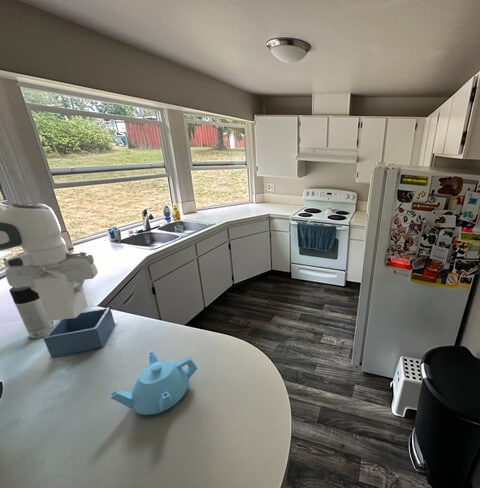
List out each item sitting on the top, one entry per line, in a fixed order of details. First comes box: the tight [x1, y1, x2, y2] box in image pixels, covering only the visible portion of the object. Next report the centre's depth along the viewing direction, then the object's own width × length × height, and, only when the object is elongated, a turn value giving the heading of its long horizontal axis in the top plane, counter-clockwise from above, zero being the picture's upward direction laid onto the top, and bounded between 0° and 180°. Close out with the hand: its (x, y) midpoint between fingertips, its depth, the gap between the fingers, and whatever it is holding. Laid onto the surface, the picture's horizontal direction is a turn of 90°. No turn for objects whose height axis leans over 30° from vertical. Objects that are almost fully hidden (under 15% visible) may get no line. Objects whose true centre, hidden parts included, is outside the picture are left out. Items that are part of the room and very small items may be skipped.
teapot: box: [109, 351, 198, 416], centre depth 70 cm, size 15×15×11 cm
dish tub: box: [42, 307, 116, 358], centre depth 90 cm, size 14×14×8 cm
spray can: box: [9, 286, 56, 339], centre depth 91 cm, size 7×7×20 cm
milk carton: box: [33, 266, 89, 321], centre depth 82 cm, size 7×7×19 cm
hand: (62, 293), depth 82 cm, fingers closed on milk carton, 7 cm apart
